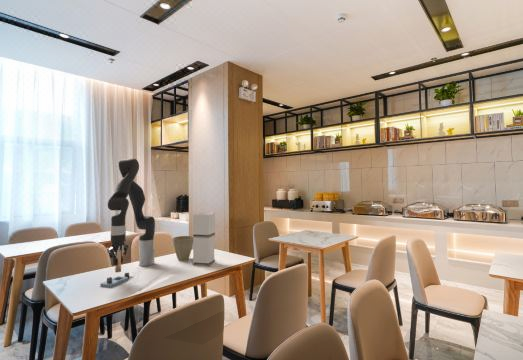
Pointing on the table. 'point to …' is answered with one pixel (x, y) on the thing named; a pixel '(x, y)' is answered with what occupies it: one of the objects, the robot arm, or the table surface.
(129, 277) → the lower chain link
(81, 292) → the table surface
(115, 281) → the upper chain link
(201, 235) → the tall lidded box
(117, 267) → the copper pin
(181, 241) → the plant pot
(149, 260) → the robot arm
